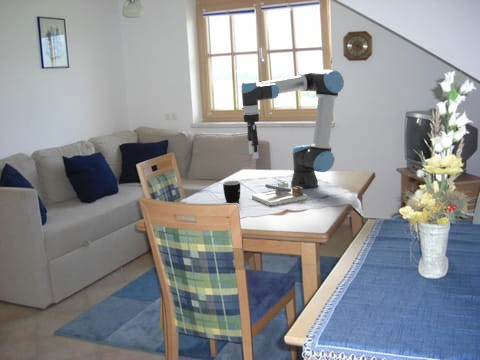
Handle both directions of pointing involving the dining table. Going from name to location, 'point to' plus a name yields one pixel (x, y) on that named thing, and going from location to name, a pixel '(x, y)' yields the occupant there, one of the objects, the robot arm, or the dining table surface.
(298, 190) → the slider walnut
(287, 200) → the console
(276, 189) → the rocker
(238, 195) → the mug
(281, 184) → the slider sage
